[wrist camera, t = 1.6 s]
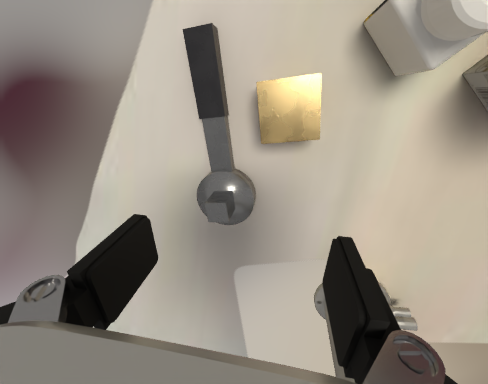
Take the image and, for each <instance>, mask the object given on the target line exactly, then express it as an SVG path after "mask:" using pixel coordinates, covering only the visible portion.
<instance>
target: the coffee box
mask: <svg viewBox="0 0 488 384" xmlns="http://www.w3.org/2000/svg"><path fill="white" fill-rule="evenodd" d="M463 76H464V77H465V79H466V80H467V82H468V83H469V85H470V86H471V88H472V89H473V91H474V92H475V94H476V95H477V97H478V98H479V100H480V101H481V102H482V104H483V105H484V107H485V108H486V110H487V111H488V55H487V56H486V57H485V58H483V59H482V60H481V61H479V62H478V63H477V64H475V65H474V66H473V67H471V68H470V69H469V70H467V71H466V72H465V73H464V74H463Z"/></svg>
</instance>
